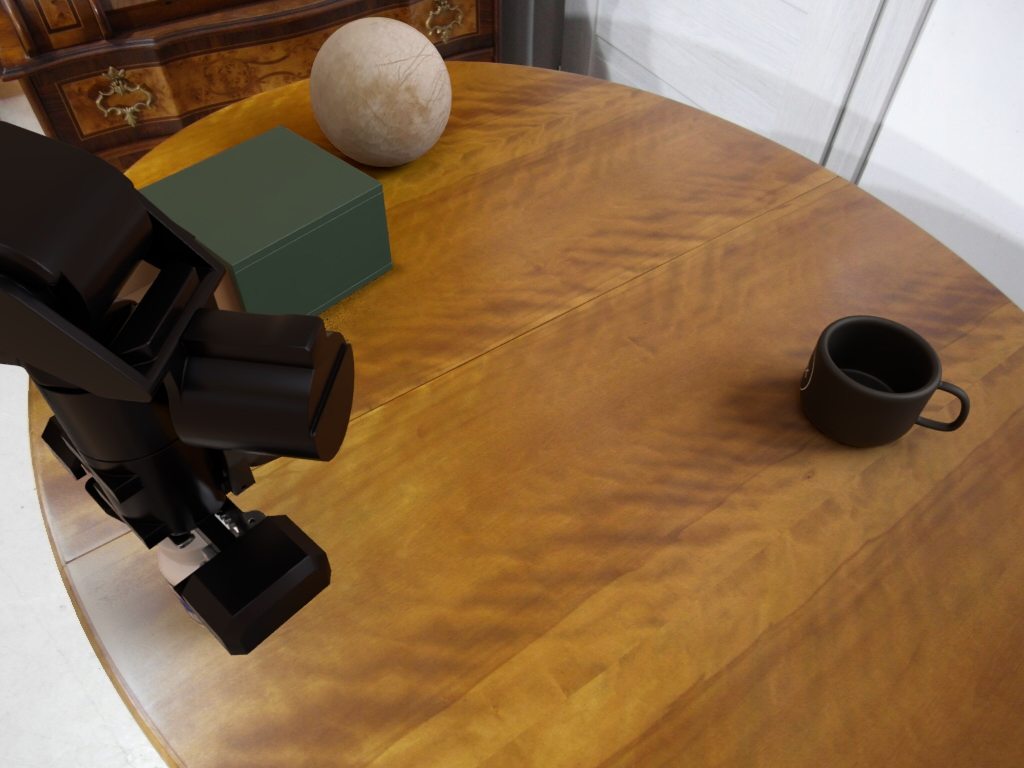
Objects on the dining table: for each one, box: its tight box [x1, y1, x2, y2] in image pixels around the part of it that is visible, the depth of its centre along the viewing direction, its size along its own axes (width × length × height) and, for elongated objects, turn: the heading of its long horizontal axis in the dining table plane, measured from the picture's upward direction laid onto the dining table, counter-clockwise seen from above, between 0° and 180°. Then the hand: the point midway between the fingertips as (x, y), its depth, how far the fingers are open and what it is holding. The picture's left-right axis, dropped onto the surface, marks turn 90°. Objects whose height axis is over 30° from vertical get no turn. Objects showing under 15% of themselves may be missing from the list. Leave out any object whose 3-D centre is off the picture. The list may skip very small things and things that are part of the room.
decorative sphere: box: [309, 16, 453, 168], centre depth 83 cm, size 15×15×15 cm
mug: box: [799, 314, 971, 448], centre depth 61 cm, size 12×9×7 cm
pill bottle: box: [156, 514, 238, 630], centre depth 47 cm, size 5×5×9 cm
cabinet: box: [137, 124, 394, 316], centre depth 71 cm, size 16×15×10 cm
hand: (219, 575), depth 48 cm, fingers closed on pill bottle, 5 cm apart
